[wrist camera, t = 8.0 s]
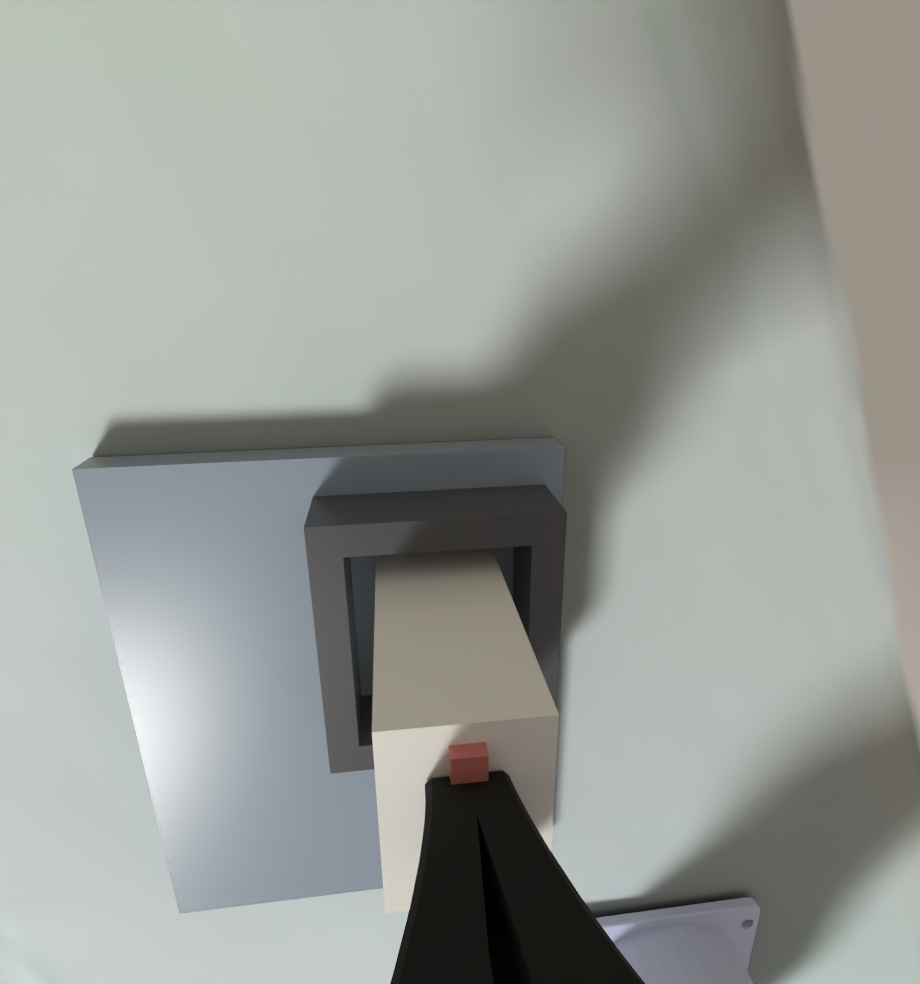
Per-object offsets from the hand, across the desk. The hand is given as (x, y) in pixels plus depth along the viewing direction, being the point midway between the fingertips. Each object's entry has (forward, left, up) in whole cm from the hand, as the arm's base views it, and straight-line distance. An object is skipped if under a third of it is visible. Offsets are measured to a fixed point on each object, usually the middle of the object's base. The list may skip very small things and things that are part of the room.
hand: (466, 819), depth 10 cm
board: (-3, +2, -8) cm, 9 cm away
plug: (0, 0, -7) cm, 7 cm away
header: (0, 0, -7) cm, 7 cm away
